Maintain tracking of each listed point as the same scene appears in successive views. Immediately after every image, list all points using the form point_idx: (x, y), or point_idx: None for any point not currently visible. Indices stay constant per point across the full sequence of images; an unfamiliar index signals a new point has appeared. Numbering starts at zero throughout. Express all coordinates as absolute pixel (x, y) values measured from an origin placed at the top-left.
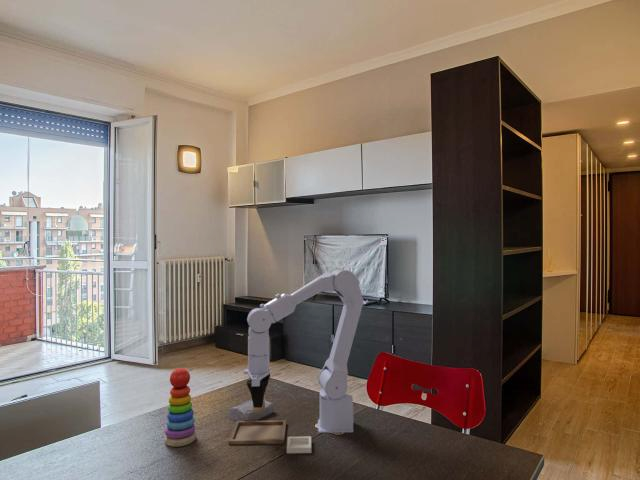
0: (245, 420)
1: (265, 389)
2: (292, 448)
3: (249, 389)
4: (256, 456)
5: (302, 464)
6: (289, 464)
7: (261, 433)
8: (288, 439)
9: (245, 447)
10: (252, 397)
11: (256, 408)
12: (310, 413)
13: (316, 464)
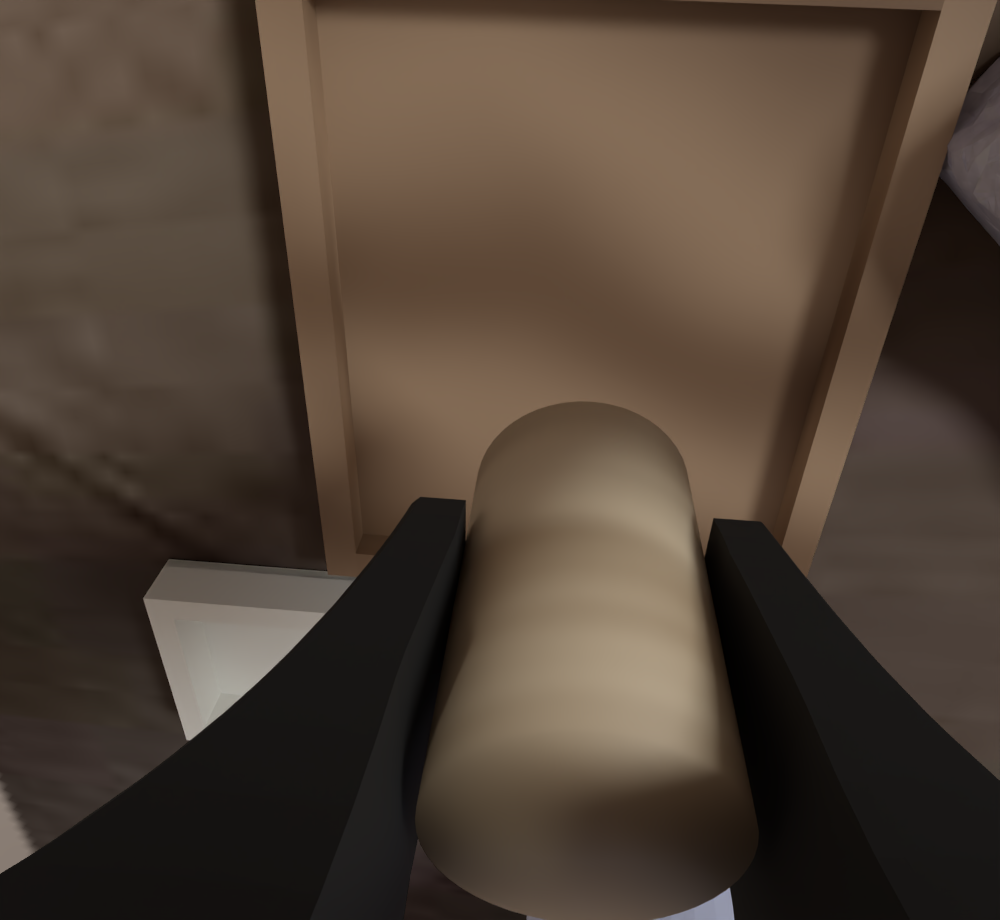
0: (963, 126)
1: (731, 897)
2: (158, 630)
3: (79, 825)
4: (77, 318)
5: (50, 640)
6: (23, 568)
7: (562, 357)
8: (308, 617)
9: (250, 182)
10: (306, 640)
11: (475, 508)
12: (984, 763)
13: (75, 707)
